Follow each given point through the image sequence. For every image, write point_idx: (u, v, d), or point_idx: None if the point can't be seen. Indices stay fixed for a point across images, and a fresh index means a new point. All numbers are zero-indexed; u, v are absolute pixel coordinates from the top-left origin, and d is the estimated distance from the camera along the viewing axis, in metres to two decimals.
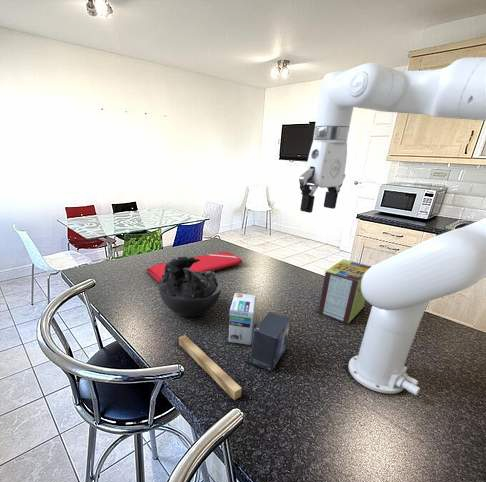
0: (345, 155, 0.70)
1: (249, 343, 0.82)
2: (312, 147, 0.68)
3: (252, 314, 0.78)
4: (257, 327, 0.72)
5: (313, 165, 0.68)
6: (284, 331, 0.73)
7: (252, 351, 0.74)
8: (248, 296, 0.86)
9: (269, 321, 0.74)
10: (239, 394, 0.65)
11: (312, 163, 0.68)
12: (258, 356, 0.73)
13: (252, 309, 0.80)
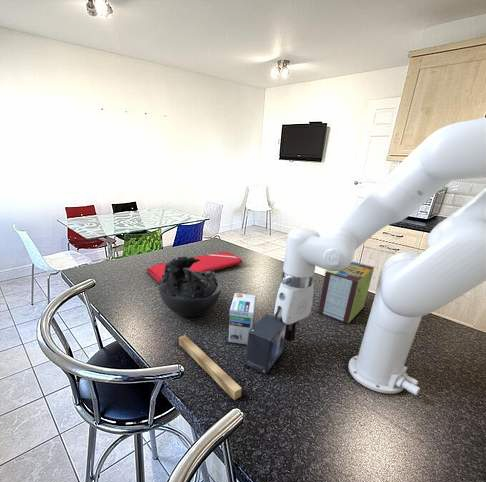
0: (311, 293, 0.75)
1: None
2: (280, 289, 0.73)
3: (252, 314, 0.78)
4: (252, 329, 0.71)
5: (281, 306, 0.73)
6: (280, 333, 0.72)
7: (247, 353, 0.73)
8: (248, 296, 0.86)
9: (265, 323, 0.74)
10: (239, 394, 0.65)
11: (280, 303, 0.73)
12: (252, 358, 0.72)
13: (252, 309, 0.80)
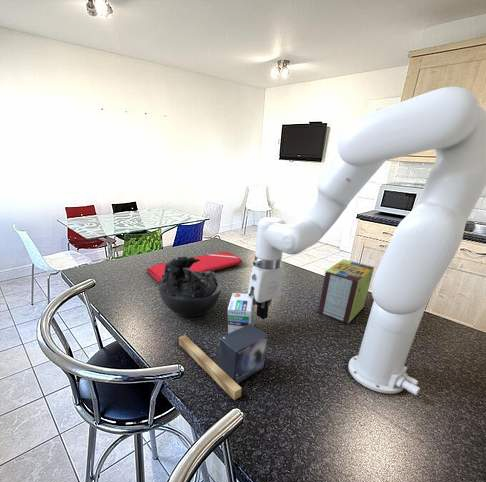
0: (281, 275, 0.85)
1: None
2: (252, 271, 0.83)
3: (250, 313, 0.78)
4: (224, 336, 0.68)
5: (253, 286, 0.83)
6: (254, 347, 0.67)
7: (218, 360, 0.70)
8: (246, 295, 0.86)
9: (242, 333, 0.70)
10: (239, 394, 0.65)
11: (252, 284, 0.83)
12: (222, 367, 0.69)
13: (250, 307, 0.80)
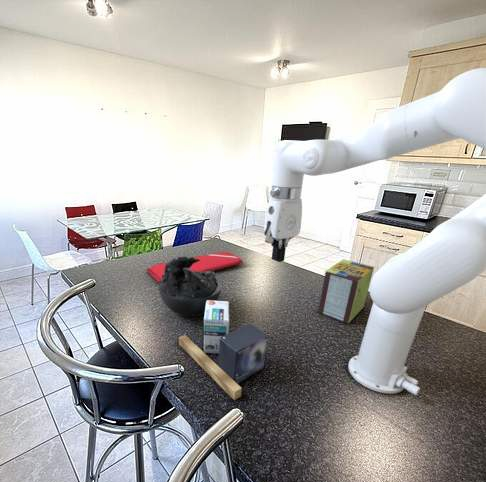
0: (300, 210, 0.76)
1: None
2: (269, 204, 0.74)
3: (227, 322, 0.74)
4: (224, 336, 0.68)
5: (270, 220, 0.74)
6: (254, 347, 0.67)
7: (218, 360, 0.70)
8: (221, 302, 0.82)
9: (242, 333, 0.70)
10: (239, 394, 0.65)
11: (269, 218, 0.75)
12: (222, 367, 0.69)
13: (227, 316, 0.76)
